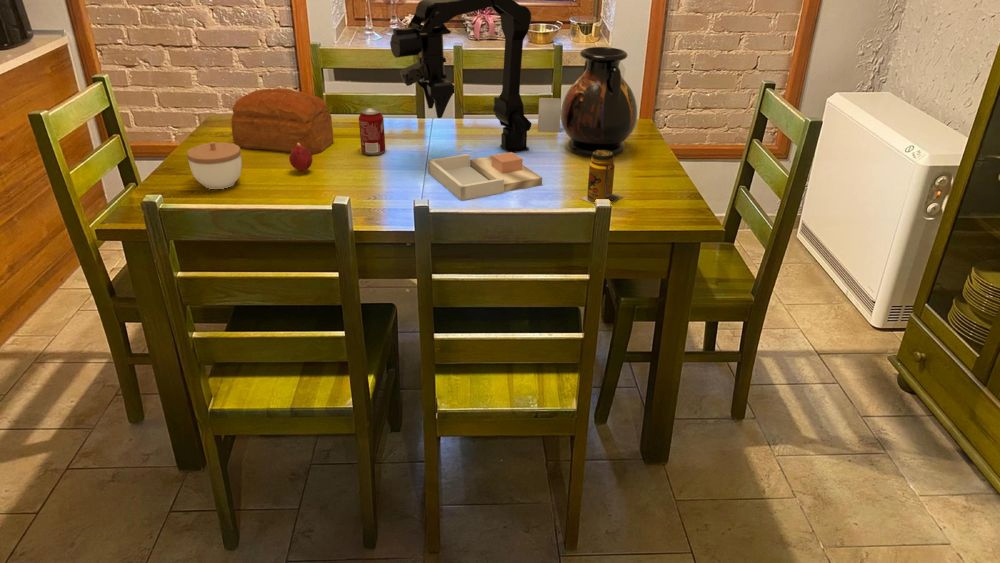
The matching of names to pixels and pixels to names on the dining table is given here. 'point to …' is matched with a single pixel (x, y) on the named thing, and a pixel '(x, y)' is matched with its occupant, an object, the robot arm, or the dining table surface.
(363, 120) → the soda can
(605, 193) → the condiment
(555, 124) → the grey rectangular box
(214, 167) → the lidded bowl
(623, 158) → the dining table surface
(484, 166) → the wooden board
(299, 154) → the onion
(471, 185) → the box
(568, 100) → the amphora vase
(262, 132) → the bread
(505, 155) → the block
